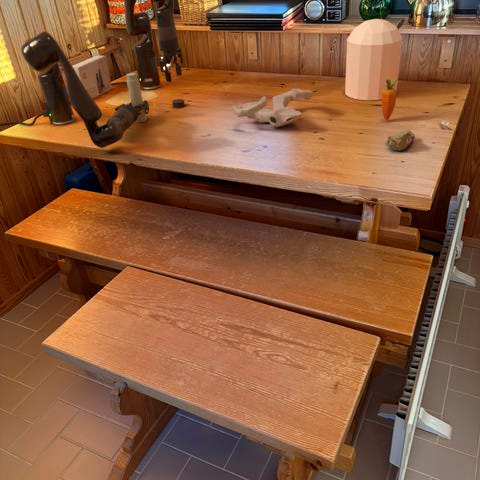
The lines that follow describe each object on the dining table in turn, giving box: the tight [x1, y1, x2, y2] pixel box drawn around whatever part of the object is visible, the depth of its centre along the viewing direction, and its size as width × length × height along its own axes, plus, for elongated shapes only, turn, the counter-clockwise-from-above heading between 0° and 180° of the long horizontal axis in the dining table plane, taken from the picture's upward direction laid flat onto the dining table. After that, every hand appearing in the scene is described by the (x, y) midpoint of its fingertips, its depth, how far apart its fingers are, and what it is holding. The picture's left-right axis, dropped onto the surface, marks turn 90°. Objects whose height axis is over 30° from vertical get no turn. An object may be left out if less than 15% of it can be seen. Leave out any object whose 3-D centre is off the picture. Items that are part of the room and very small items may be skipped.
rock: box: [387, 129, 416, 152], centre depth 146 cm, size 11×6×10 cm
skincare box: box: [72, 54, 113, 100], centre depth 218 cm, size 21×6×16 cm, turn 158°
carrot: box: [380, 79, 398, 122], centre depth 161 cm, size 5×5×15 cm
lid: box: [171, 98, 185, 109], centre depth 198 cm, size 5×5×2 cm
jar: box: [125, 72, 148, 123], centre depth 183 cm, size 5×5×18 cm
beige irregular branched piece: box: [231, 88, 314, 128], centre depth 171 cm, size 28×26×12 cm
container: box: [344, 18, 403, 101], centre depth 185 cm, size 21×21×28 cm
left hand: (139, 102), depth 187 cm, fingers open, 4 cm apart
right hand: (174, 78), depth 192 cm, fingers open, 8 cm apart
